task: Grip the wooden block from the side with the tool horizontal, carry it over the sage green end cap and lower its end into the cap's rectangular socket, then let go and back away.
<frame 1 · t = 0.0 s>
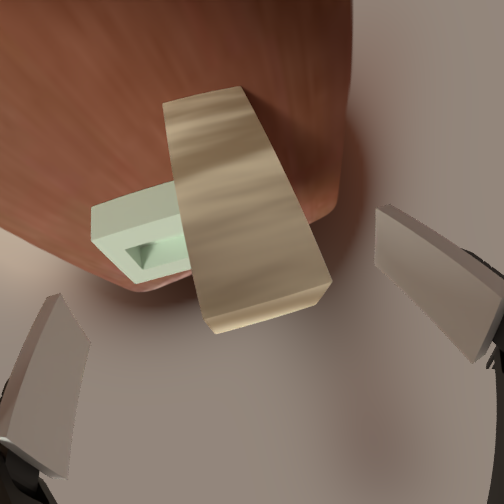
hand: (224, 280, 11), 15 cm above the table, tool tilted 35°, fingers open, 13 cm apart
wooden block: (204, 113, 21), on the table
end cap: (161, 220, 32), on the table
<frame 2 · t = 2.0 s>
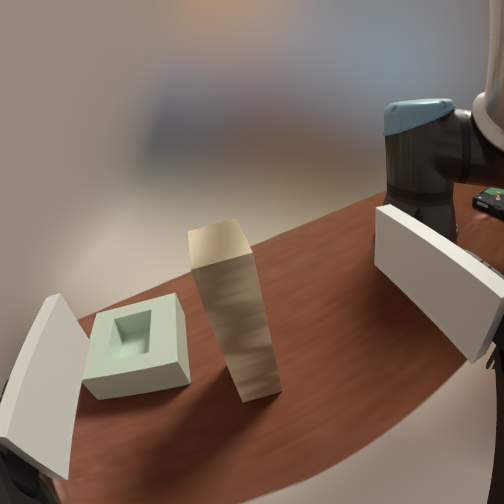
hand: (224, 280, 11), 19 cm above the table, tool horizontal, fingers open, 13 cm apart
wooden block: (255, 374, 29), on the table
end cap: (142, 356, 33), on the table
disk drive: (499, 207, 49), on the table
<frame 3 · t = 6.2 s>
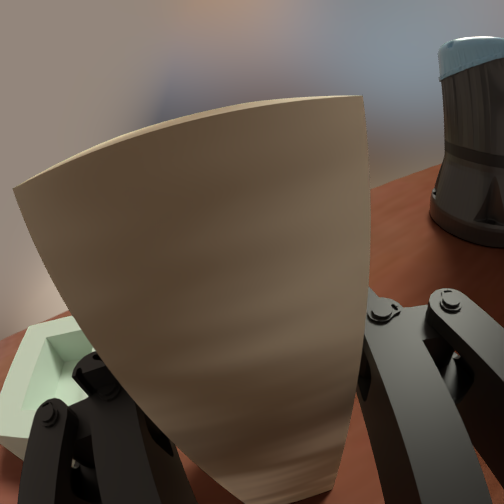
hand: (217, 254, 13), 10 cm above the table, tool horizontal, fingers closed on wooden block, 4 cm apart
wooden block: (279, 456, 13), on the table, touching gripper
end cap: (87, 400, 18), on the table
when the fingers open (12 cm above the table, at t = 11.0 s): wooden block stays where it is, resting on end cap.
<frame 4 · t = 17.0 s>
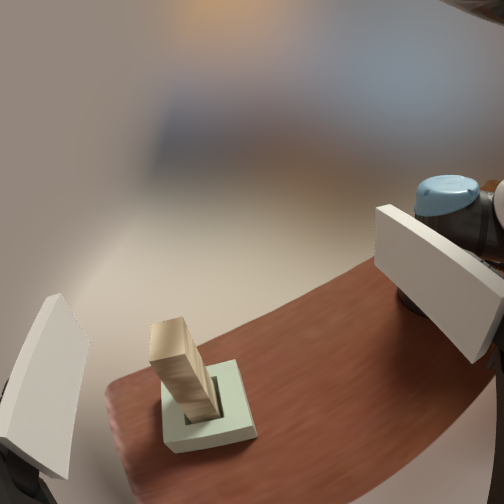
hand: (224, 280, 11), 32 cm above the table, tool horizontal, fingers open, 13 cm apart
wooden block: (207, 410, 38), point 1 cm above the table, touching end cap
end cap: (209, 413, 38), on the table
disk drive: (501, 255, 54), on the table
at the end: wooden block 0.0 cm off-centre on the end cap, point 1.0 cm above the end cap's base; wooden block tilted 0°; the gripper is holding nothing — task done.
